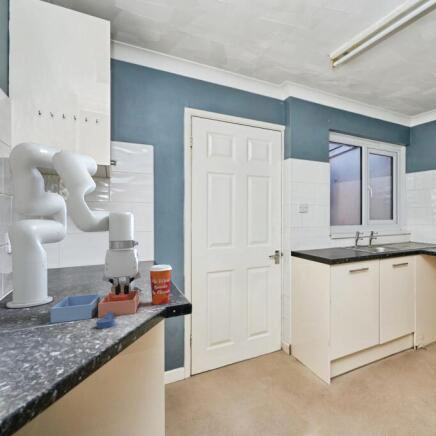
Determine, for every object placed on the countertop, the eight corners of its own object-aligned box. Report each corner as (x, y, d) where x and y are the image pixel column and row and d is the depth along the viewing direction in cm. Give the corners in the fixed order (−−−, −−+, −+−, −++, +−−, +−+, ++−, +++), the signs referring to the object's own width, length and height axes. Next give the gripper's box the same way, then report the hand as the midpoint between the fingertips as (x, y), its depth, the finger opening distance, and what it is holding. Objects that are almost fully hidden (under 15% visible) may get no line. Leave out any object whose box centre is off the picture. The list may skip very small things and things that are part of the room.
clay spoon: (116, 295, 115) (116, 291, 115) (130, 294, 117) (130, 289, 117) (111, 303, 105) (111, 298, 105) (126, 301, 107) (126, 296, 107)
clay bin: (107, 304, 116) (107, 292, 116) (139, 301, 120) (139, 289, 120) (98, 317, 101) (98, 303, 101) (135, 313, 106) (135, 300, 106)
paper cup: (148, 306, 114) (148, 268, 114) (149, 301, 121) (149, 265, 120) (172, 303, 117) (172, 266, 117) (172, 298, 124) (172, 263, 124)
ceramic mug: (109, 299, 123) (110, 279, 123) (114, 294, 131) (114, 276, 131) (140, 296, 128) (141, 278, 128) (143, 292, 135) (143, 274, 135)
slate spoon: (102, 318, 101) (102, 312, 101) (118, 316, 103) (118, 310, 103) (94, 329, 91) (94, 323, 91) (113, 327, 92) (112, 321, 92)
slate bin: (66, 309, 110) (66, 296, 110) (101, 305, 115) (101, 293, 115) (50, 323, 96) (50, 308, 96) (91, 318, 100) (91, 304, 100)
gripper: (147, 243, 120) (147, 291, 120) (97, 245, 113) (98, 296, 113) (145, 245, 113) (146, 296, 113) (92, 247, 106) (93, 301, 106)
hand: (122, 295), depth 113 cm, fingers closed on clay spoon, 1 cm apart
